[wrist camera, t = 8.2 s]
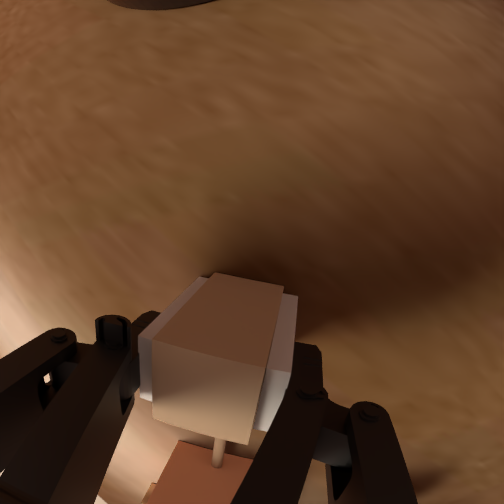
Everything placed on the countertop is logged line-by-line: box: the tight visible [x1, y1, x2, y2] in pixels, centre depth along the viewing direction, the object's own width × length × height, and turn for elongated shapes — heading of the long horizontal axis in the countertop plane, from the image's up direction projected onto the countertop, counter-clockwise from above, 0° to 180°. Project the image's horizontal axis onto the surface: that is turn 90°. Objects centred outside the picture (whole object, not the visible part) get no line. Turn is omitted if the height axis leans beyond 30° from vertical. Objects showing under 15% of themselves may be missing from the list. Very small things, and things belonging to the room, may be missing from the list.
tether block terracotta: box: [146, 272, 284, 504], centre depth 15 cm, size 19×6×7 cm, turn 171°
